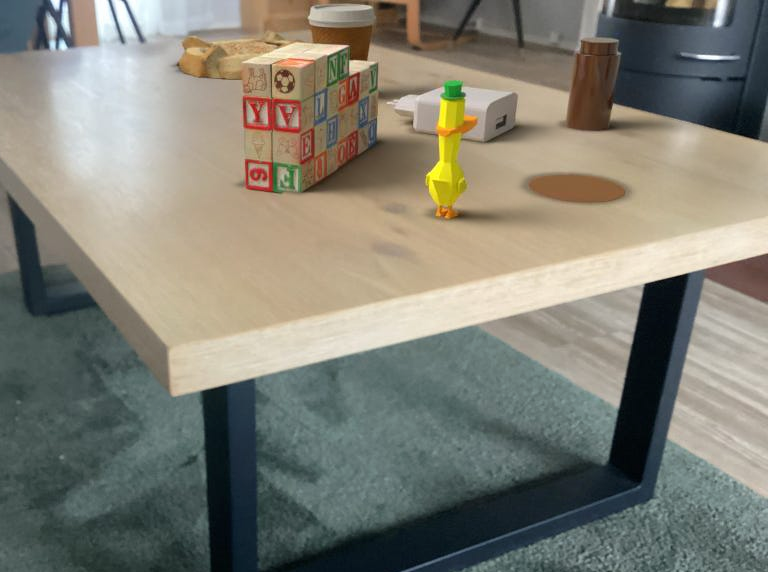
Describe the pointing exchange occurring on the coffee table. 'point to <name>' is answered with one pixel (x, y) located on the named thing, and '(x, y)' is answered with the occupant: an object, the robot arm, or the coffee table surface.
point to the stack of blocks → (305, 114)
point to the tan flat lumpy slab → (226, 54)
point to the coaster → (576, 188)
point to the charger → (485, 104)
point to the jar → (593, 84)
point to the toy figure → (450, 149)
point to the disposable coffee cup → (343, 27)
